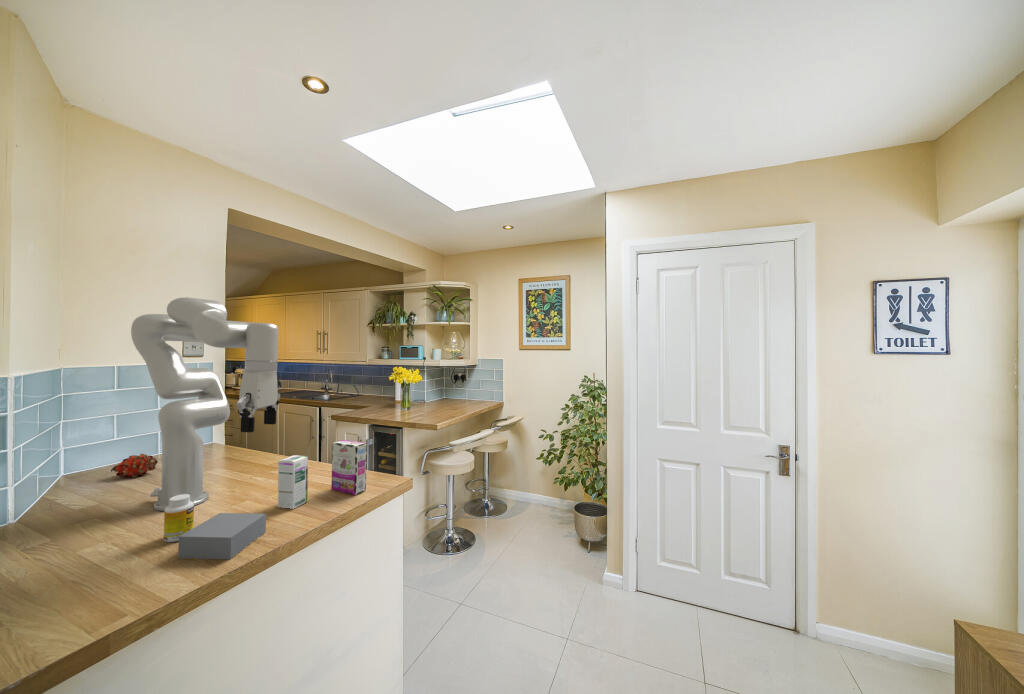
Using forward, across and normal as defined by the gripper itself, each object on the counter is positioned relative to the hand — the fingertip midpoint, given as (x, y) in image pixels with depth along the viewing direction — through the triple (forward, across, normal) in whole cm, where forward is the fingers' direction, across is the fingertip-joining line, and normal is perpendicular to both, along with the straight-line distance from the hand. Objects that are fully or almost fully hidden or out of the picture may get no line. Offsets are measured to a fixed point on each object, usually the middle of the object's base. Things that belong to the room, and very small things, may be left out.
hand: (259, 427), depth 103 cm
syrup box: (+26, -10, +4) cm, 28 cm away
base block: (+26, +13, +1) cm, 29 cm away
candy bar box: (+26, -22, +17) cm, 38 cm away
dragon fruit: (+27, -34, -64) cm, 78 cm away
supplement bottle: (+26, +9, -13) cm, 31 cm away
